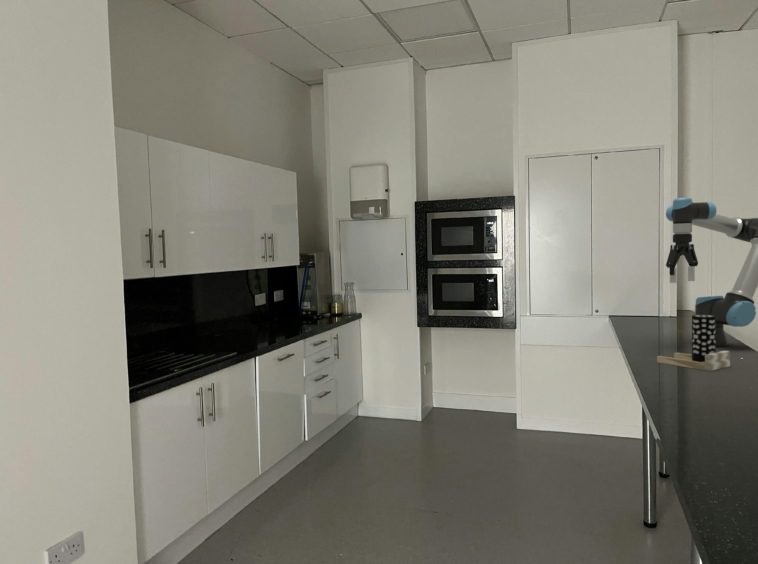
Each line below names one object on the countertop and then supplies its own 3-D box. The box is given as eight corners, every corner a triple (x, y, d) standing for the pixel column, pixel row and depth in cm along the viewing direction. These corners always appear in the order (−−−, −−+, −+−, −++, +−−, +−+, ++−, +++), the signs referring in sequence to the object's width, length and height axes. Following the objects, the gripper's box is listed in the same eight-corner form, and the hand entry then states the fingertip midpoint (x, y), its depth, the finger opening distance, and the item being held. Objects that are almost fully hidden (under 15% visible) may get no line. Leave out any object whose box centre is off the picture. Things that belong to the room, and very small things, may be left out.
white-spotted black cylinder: (691, 367, 234) (691, 316, 233) (691, 363, 241) (691, 314, 240) (716, 368, 230) (716, 317, 229) (715, 364, 237) (715, 315, 236)
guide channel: (677, 358, 252) (677, 344, 252) (730, 366, 234) (730, 351, 233) (657, 362, 245) (656, 348, 245) (710, 371, 226) (710, 355, 226)
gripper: (690, 233, 270) (690, 280, 271) (657, 234, 257) (657, 283, 258) (706, 232, 263) (706, 280, 264) (673, 233, 250) (673, 283, 251)
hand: (682, 281), depth 261 cm, fingers open, 13 cm apart
